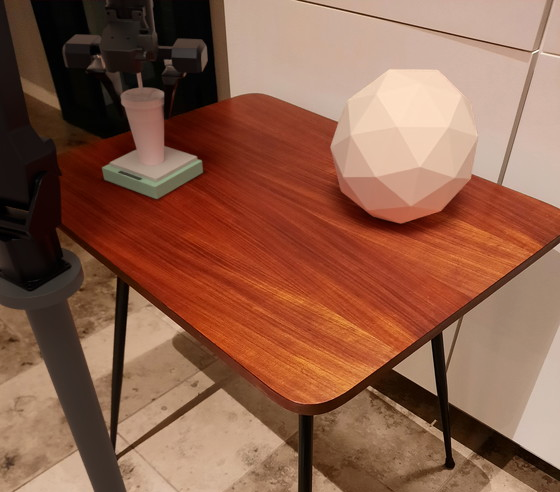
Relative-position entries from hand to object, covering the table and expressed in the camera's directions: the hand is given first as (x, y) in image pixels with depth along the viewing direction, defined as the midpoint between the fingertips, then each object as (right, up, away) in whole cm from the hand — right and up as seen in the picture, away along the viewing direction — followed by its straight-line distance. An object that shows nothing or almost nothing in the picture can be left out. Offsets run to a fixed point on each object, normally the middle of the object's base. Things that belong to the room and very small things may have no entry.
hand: (145, 118), depth 83 cm
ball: (+37, -14, 0) cm, 39 cm away
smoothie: (0, -5, +5) cm, 7 cm away
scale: (0, -6, +6) cm, 9 cm away
